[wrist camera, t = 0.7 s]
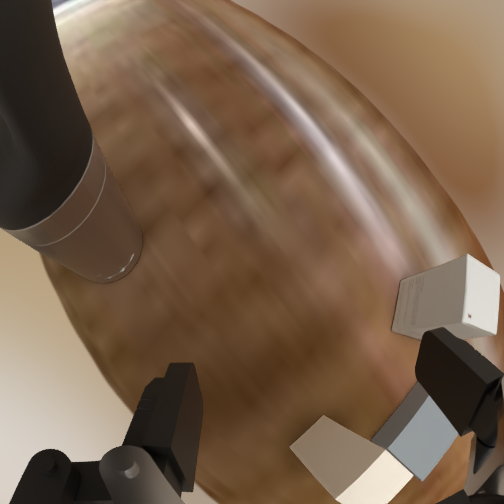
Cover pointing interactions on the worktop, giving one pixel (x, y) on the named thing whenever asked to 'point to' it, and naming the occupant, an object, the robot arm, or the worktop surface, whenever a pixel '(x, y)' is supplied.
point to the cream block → (350, 464)
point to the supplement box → (449, 300)
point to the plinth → (417, 433)
